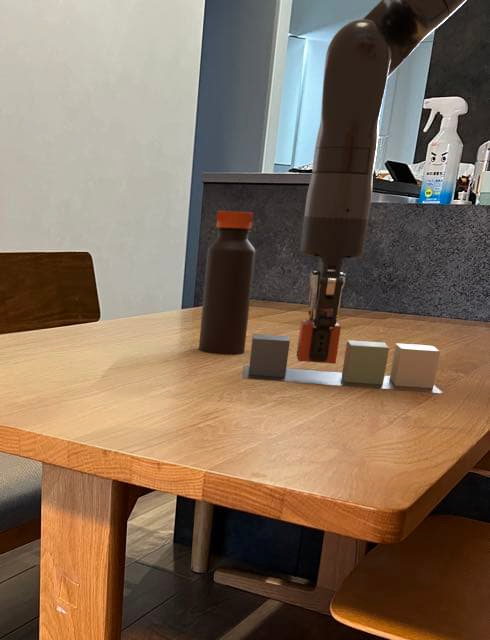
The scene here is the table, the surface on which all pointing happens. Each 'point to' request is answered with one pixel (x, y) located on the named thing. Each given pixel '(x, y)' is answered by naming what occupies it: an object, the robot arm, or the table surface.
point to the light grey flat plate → (332, 380)
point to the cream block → (414, 365)
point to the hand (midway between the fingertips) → (316, 356)
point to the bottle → (227, 286)
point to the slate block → (269, 355)
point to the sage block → (365, 362)
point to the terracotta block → (305, 342)
